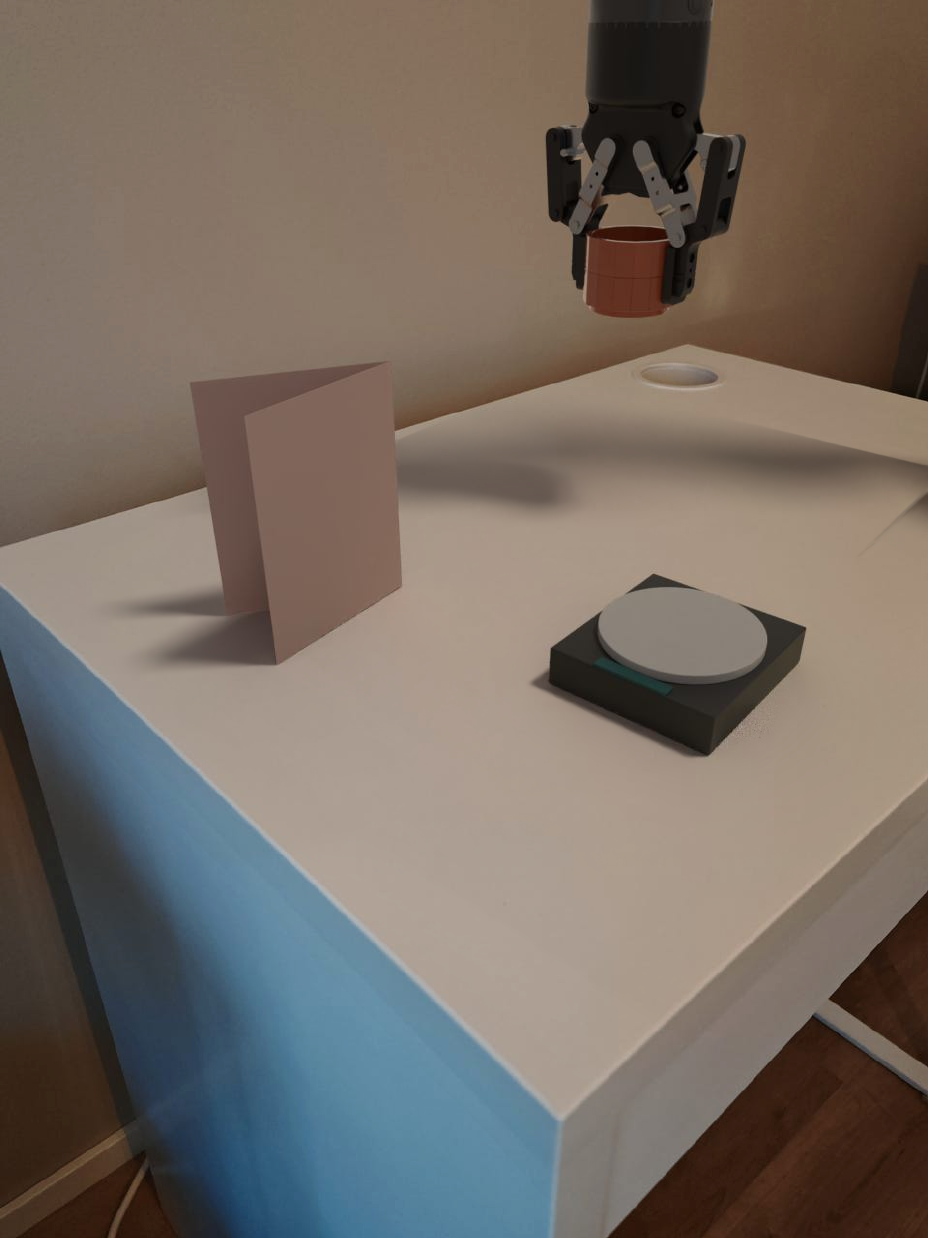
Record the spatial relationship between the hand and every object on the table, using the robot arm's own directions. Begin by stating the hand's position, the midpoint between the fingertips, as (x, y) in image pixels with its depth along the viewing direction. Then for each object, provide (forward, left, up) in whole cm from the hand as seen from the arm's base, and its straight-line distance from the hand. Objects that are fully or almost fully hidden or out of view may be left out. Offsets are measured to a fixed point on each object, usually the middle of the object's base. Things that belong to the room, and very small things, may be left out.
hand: (629, 294), depth 68 cm
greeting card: (+28, -3, -15) cm, 32 cm away
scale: (+19, +16, -15) cm, 29 cm away
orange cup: (0, 0, -1) cm, 1 cm away
